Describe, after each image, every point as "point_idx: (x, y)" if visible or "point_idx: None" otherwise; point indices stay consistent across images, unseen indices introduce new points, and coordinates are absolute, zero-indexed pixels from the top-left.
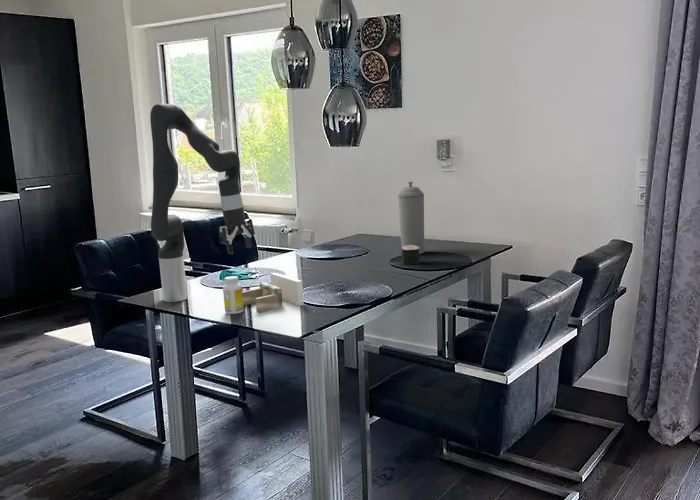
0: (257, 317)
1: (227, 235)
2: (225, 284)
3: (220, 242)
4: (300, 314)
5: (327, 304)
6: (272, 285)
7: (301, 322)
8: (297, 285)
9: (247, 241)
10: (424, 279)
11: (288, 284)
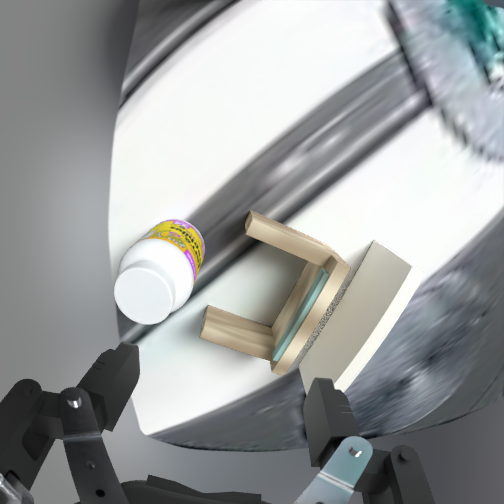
0: (168, 336)
1: (72, 463)
2: (132, 262)
3: (18, 383)
4: (235, 399)
5: None
6: (310, 331)
7: (190, 419)
8: None
9: (315, 433)
10: (471, 407)
11: (336, 362)
